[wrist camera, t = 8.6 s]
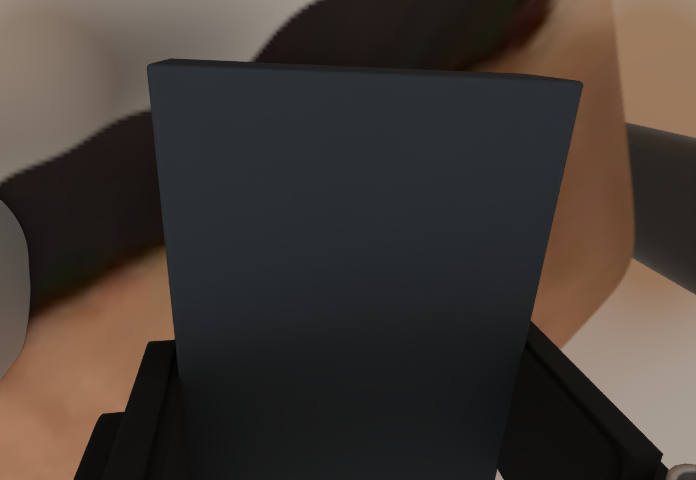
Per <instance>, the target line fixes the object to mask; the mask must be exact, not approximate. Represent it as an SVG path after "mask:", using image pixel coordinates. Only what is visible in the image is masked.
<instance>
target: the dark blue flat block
mask: <svg viewBox="0 0 696 480" xmlns="http://www.w3.org/2000/svg"><path fill="white" fill-rule="evenodd" d="M147 74H148V84H149V93H150V103H151V113H152V122H153V132H154V141H155V151H156V161H157V170H158V180H159V190H160V199H161V209H162V218H163V228H164V238H165V247H166V257H167V266H168V276H169V286H170V295H171V305H172V315H173V324H174V334H175V343H176V353H177V363H178V372H179V379H181V380H182V390H183V400H184V410H185V420H186V429H187V439H188V449H189V459H190V469H191V478H192V480H495V477H496V473H497V467H496V466H497V462H498V457H499V453H500V448H501V444H502V439H503V435H504V430H505V426H506V421H507V417H508V412H509V408H510V403H511V399H512V394H513V390H514V385H515V381H516V376H517V372H518V367H519V363H520V358H521V354H522V353H523V352H524V347H525V343H526V338H527V334H528V329H529V325H530V320H531V316H532V311H533V307H534V303H535V298H536V294H537V289H538V285H539V280H540V276H541V271H542V267H543V262H544V258H545V253H546V249H547V244H548V240H549V235H550V231H551V226H552V222H553V217H554V213H555V208H556V204H557V200H558V195H559V191H560V186H561V182H562V177H563V173H564V168H565V164H566V159H567V155H568V150H569V146H570V141H571V137H572V132H573V128H574V123H575V119H576V114H577V110H578V106H579V101H580V97H581V92H582V88H583V83H582V82H580V81H575V80H567V79H560V78H552V77H544V76H537V75H529V74H516V73H493V72H470V71H446V70H423V69H400V68H377V67H354V66H331V65H307V64H284V63H261V62H237V61H215V60H191V59H190V60H189V59H168V60H163V61H159V62H156V63H152V64H149V65H148V66H147Z"/></svg>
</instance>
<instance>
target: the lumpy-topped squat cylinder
mask: <svg viewBox="0 0 696 480" xmlns="http://www.w3.org/2000/svg"><path fill="white" fill-rule="evenodd" d="M29 307H30V276H29V256H28V248H27V243H26V239H25V236H24V233H23V230H22V228H21V226H20V224H19V222H18V220H17V219H16V217H15V216H14V214H13V213H12V212H11V210H10V209H9V208H8V207H7V206H6V205H5V204H4V202H3V201H1V200H0V380H1V379H2V377H3V376H4V375H5V373H6V372H7V371H8V369H9V368H10V367H11V365H12V364H13V363H14V361H15V360H16V359H17V357H18V356H19V354H20V353H21V351H22V348H23V345H24V341H25V336H26V331H27V325H28V317H29Z"/></svg>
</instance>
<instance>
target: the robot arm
mask: <svg viewBox="0 0 696 480" xmlns="http://www.w3.org/2000/svg"><path fill="white" fill-rule="evenodd" d="M662 456H663V453H662V452H661V451H660V450H658V448H657V447H656V446H655V445H654V444H653V443H652V442H651V441H650V440H649V439H648V438H647V437H646V436H645V435H644V434H643V433H642V432H641V431H640V430H639V429H638V428H637V427H636V426H635V425H634V424H633V423H632V422H631V421H630V420H629V419H628V418H627V417H626V416H625V415H624V414H623V413H622V412H621V411H620V410H619V409H618V408H617V407H616V406H615V405H614V404H613V403H612V402H611V401H610V400H609V399H608V398H607V397H606V396H605V395H604V394H603V393H602V392H601V391H600V390H599V389H598V388H597V387H596V386H595V385H594V384H593V383H592V382H591V381H590V380H589V379H588V378H587V377H586V376H585V375H584V374H583V373H582V372H581V371H580V370H579V369H578V368H577V367H576V366H575V365H574V364H573V363H572V362H571V361H570V360H569V359H568V358H567V357H566V356H565V355H564V354H563V353H562V351H561V350H560V349H559V348H558V347H557V346H556V345H555V344H554V343H553V342H552V341H551V340H550V339H549V338H548V337H547V336H546V335H545V334H544V333H543V332H542V331H541V330H540V329H539V328H538V327H537V326H536V325H535V324H534V323H533V322H532V321H531V320H530V325H529V329H528V334H527V338H526V343H525V347H524V352H523V353H522V354H521V358H520V363H519V367H518V372H517V376H516V381H515V385H514V390H513V394H512V399H511V403H510V408H509V412H508V417H507V421H506V426H505V430H504V435H503V439H502V444H501V448H500V453H499V457H498V462H497V466H496V467H497V469H498V471H499V472H500V474H501V476H502V478H503V479H504V480H696V465H693V464H681V465H676V466H674V467H672V468H671V469H670V470H668V468H667V467H665V465H664V464H663V463H662V462H661V459H662ZM74 480H192V478H191V469H190V459H189V449H188V439H187V429H186V420H185V410H184V400H183V390H182V380H181V379H179V372H178V363H177V353H176V343H175V340H166V341H150V342H148V344H147V347H146V350H145V353H144V356H143V359H142V362H141V365H140V368H139V371H138V374H137V377H136V380H135V383H134V386H133V389H132V392H131V395H130V397H129V400H128V403H127V406H126V409H125V412H117V413H106V414H102V415H101V416H100V417H99V419H98V421H97V423H96V425H95V427H94V430H93V432H92V435H91V437H90V440H89V442H88V445H87V447H86V450H85V452H84V455H83V457H82V460H81V462H80V465H79V467H78V470H77V472H76V475H75V477H74Z"/></svg>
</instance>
